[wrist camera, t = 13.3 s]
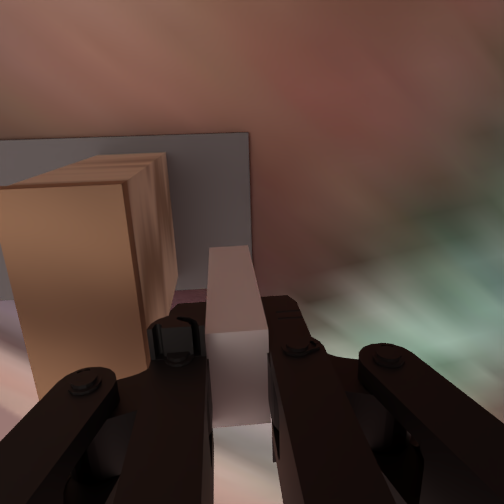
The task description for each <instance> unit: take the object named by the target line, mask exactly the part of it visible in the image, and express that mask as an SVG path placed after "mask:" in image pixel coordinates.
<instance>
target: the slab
mask: <svg viewBox="0 0 504 504" xmlns="http://www.w3.org/2000/svg"><path fill="white" fill-rule="evenodd" d="M0 244H1V248H2V252H3V256H4V260H5V264H6V268H7V272H8V276H9V280H10V284H11V288H12V293H13V297H14V301H15V305H16V309H17V313H18V317H19V321H20V325H21V329H22V333H23V337H24V341H25V345H26V349H27V353H28V357H29V361H30V365H31V369H32V373H33V377H34V381H35V385H36V389H37V394H38V398H39V401H40V400H41V399H42V398H43V397H44V396H45V395H46V394H47V393H48V392H49V391H50V389H51V388H52V387H53V386H54V385H55V384H56V383H57V382H58V381H60V380H61V379H62V378H64V377H65V376H66V375H68V374H70V373H73V372H75V371H77V370H79V369H82V368H83V369H84V368H87V367H104V368H109V369H110V370H112V371H113V372H114V373H115V375H116V379H117V380H119V379H122V378H126V377H130V376H133V375H136V374H138V373H141V372H143V371H145V370H147V369H148V368H149V365H150V361H151V360H150V352H149V345H148V337H147V328H148V327H149V325H150V324H151V323H153V322H154V321H156V320H157V319H160V318H163V317H166V316H169V312H170V308H171V304H172V300H173V296H174V292H175V287H176V283H177V279H178V269H177V259H176V249H175V239H174V229H173V219H172V209H171V199H170V189H169V179H168V169H167V159H166V152H160V153H136V154H112V155H96V156H93V157H90V158H88V159H85V160H82V161H79V162H76V163H73V164H70V165H67V166H64V167H61V168H58V169H55V170H52V171H49V172H46V173H43V174H41V175H38V176H35V177H32V178H29V179H26V180H23V181H20V182H17V183H14V184H11V185H8V186H0Z"/></svg>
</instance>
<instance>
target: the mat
mask: <svg viewBox="0 0 504 504" xmlns="http://www.w3.org/2000/svg"><path fill="white" fill-rule="evenodd" d="M160 152H166V159H167V169H168V179H169V189H170V199H171V209H172V219H173V229H174V239H175V249H176V259H177V269H178V279H177V283H176V287H175V290H192V289H207V284H208V265H209V248H211V247H228V246H245V245H248V247H249V252H250V256H251V260H252V240H251V206H250V172H249V138H248V132H237V133H207V134H176V135H145V136H114V137H83V138H52V139H22V140H0V186H8V185H11V184H14V183H17V182H20V181H23V180H26V179H29V178H32V177H35V176H38V175H41V174H43V173H46V172H49V171H52V170H55V169H58V168H61V167H64V166H67V165H70V164H73V163H76V162H79V161H82V160H85V159H88V158H90V157H93V156H96V155H112V154H136V153H160ZM2 300H14V297H13V293H12V288H11V284H10V280H9V276H8V272H7V268H6V264H5V260H4V256H3V252H2V248H1V244H0V301H2Z"/></svg>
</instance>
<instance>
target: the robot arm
mask: <svg viewBox="0 0 504 504" xmlns="http://www.w3.org/2000/svg"><path fill="white" fill-rule="evenodd" d="M147 337H148V345H149V352H150V360H151V361H150V365H149V368H148V369H147V370H145V371H143V372H141V373H138V374H136V375H133V376H130V377H126V378H122V379H119V380H117V379H116V375H115V373H114V372H113V371H112V370H110V369H109V368H104V367H87V368H84V369H83V368H82V369H79V370H77V371H75V372H73V373H70V374H68V375H66V376H65V377H64V378H62V379H61V380H60V381H58V382H57V383H56V384H55V385H54V386H53V387H52V388H51V389H50V391H49V392H48V393H47V394H46V395H45V396H44V397H43V398H42V399H41V400H40V401H39V402H38V403H37V404H36V405H35V406H34V407H33V408H32V409H31V410H30V411H29V412H28V413H27V414H26V415H25V416H24V417H23V419H22V420H21V421H20V422H19V423H18V424H17V425H16V426H15V427H14V428H13V429H12V430H11V431H10V432H9V433H8V434H7V435H6V436H5V437H4V438H3V439H2V440H1V441H0V504H213V499H214V441H213V428H217V427H229V426H240V425H251V424H262V423H271V418H272V446H273V462H276V463H277V468H278V474H279V480H280V486H281V492H282V498H283V504H504V423H502V422H501V421H500V420H498V419H497V418H496V417H495V416H493V415H492V414H491V413H489V412H488V411H487V410H485V409H484V408H483V407H482V406H480V405H479V404H478V403H476V402H475V401H474V400H473V399H471V398H470V397H469V396H467V395H466V394H465V393H464V392H462V391H461V390H460V389H458V388H457V387H456V386H455V385H453V384H452V383H451V382H449V381H448V380H447V379H445V378H444V377H443V376H442V375H440V374H439V373H438V372H436V371H435V370H434V369H433V368H431V367H430V366H429V365H427V364H426V363H425V362H424V361H422V360H421V359H420V358H418V357H417V356H416V355H415V354H413V353H412V352H410V351H408V350H407V349H405V348H403V347H400V346H396V345H394V344H389V343H387V344H386V343H378V344H370V345H368V346H365V347H363V348H362V349H361V351H360V352H359V360H358V359H349V358H342V357H336V356H333V355H330V354H327V352H326V350H325V348H324V346H323V345H322V344H321V342H320V341H318V340H316V339H314V338H312V337H311V335H310V333H309V330H308V328H307V326H306V323H305V321H304V319H303V316H302V314H301V312H300V309H299V307H298V305H297V302H296V301H295V300H293V299H292V298H290V297H289V296H287V295H283V296H268V297H260V293H259V289H258V285H257V281H256V276H255V272H254V268H253V264H252V260H251V256H250V252H249V247H248V245H245V246H228V247H211V248H209V265H208V284H207V302H197V303H182V304H177V305H176V306H175V307H174V308H173V309H172V310H171V311H170V313H169V316H166V317H163V318H160V319H157V320H156V321H154V322H153V323H151V324H150V325H149V327H148V328H147ZM270 413H271V416H270ZM212 427H213V428H212Z"/></svg>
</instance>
